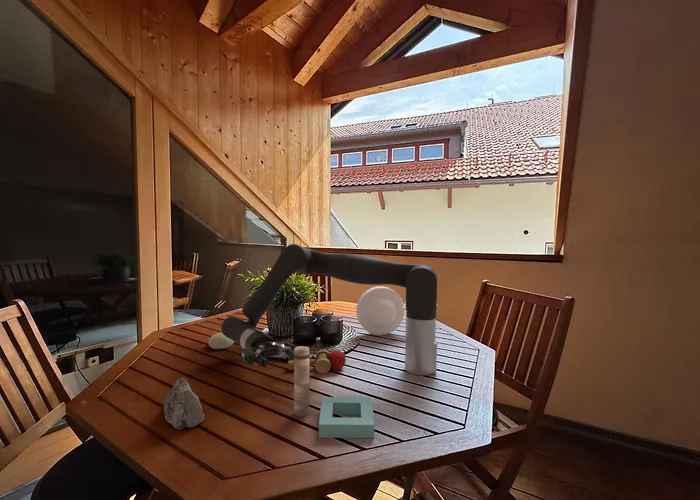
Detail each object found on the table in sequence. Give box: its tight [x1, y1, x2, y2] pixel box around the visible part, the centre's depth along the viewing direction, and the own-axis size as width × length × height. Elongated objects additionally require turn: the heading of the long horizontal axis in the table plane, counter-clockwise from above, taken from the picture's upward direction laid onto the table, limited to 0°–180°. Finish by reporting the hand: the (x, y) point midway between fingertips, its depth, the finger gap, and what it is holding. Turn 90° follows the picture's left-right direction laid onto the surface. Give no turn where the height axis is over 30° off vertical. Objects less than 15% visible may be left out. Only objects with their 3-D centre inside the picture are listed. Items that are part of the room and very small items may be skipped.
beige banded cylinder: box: [293, 345, 311, 417], centre depth 86 cm, size 4×4×16 cm
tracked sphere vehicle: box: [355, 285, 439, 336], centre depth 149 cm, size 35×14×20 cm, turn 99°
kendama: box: [287, 349, 347, 374], centre depth 113 cm, size 8×6×18 cm
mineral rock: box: [163, 376, 205, 431], centre depth 85 cm, size 13×11×10 cm
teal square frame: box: [318, 396, 375, 439], centre depth 83 cm, size 12×12×3 cm
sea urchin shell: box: [207, 331, 235, 350], centre depth 132 cm, size 9×8×8 cm
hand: (280, 360), depth 95 cm, fingers open, 8 cm apart
